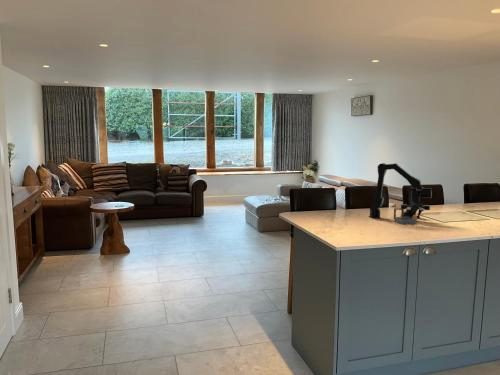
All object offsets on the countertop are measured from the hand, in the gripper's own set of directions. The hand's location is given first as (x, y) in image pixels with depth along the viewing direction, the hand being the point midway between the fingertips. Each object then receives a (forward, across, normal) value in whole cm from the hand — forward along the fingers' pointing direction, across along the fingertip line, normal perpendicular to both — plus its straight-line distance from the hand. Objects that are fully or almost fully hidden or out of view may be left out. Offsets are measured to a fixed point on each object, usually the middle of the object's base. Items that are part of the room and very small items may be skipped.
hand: (414, 219), depth 291 cm
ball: (-1, 0, 0) cm, 1 cm away
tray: (+1, -6, -10) cm, 11 cm away
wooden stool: (+1, -11, +3) cm, 11 cm away
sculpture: (+1, -2, +15) cm, 15 cm away
